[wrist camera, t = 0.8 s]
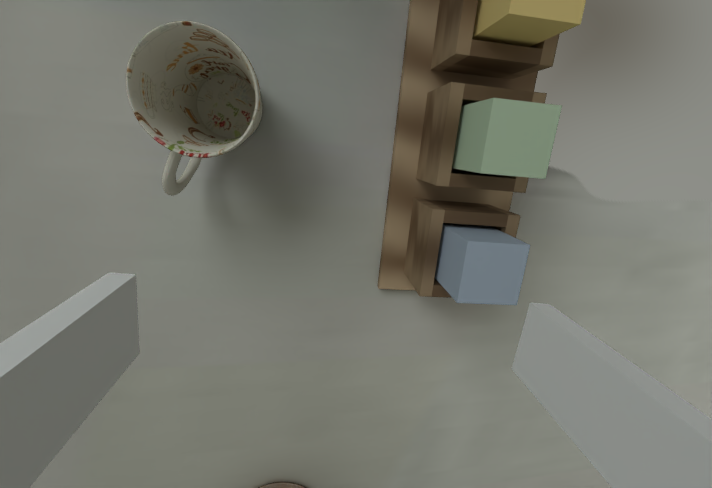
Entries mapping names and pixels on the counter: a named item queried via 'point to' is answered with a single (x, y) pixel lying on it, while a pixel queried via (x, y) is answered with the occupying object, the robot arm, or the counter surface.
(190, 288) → the counter surface
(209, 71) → the mug
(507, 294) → the button slate
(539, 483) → the counter surface
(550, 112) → the button sage
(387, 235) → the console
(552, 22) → the button ochre
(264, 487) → the planter
